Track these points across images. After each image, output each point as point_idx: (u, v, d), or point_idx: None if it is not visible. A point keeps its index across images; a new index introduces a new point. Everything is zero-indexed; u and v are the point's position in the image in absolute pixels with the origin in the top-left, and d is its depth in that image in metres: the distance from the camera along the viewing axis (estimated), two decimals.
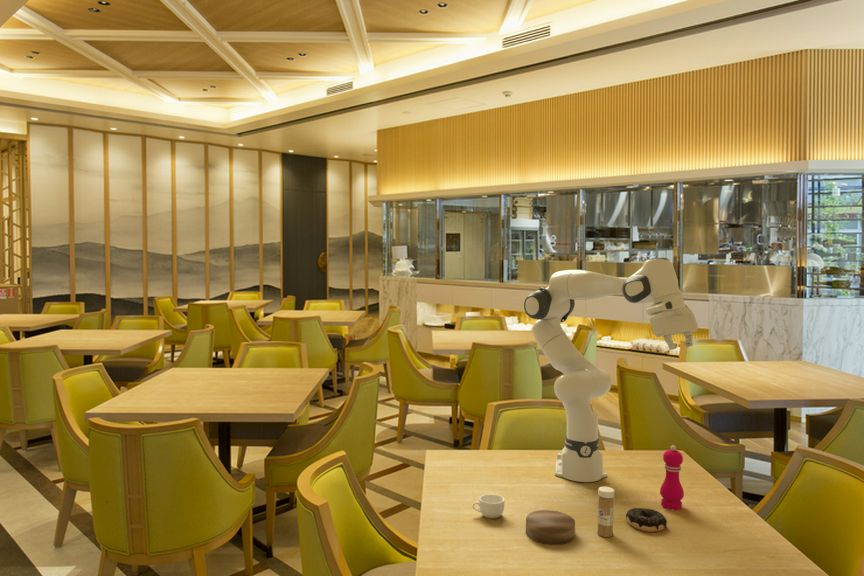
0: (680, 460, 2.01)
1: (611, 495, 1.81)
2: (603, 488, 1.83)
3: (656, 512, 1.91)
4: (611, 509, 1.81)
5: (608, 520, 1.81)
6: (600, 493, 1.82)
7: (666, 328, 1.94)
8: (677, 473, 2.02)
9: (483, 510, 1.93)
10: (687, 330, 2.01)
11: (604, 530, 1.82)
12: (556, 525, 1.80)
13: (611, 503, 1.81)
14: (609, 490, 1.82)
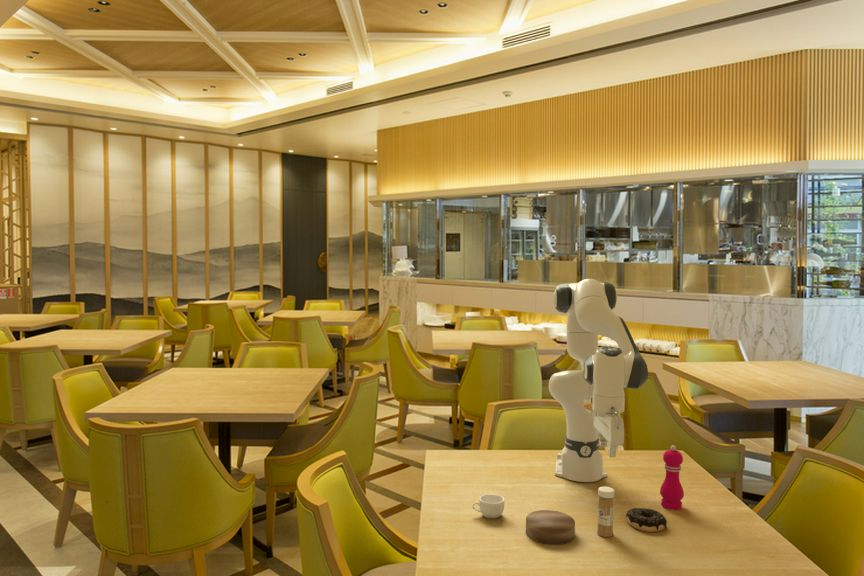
0: (680, 460, 2.01)
1: (611, 495, 1.81)
2: (603, 488, 1.83)
3: (656, 512, 1.91)
4: (611, 509, 1.81)
5: (608, 520, 1.81)
6: (600, 493, 1.82)
7: (594, 421, 1.90)
8: (677, 473, 2.02)
9: (483, 510, 1.93)
10: (604, 437, 1.79)
11: (604, 530, 1.82)
12: (556, 525, 1.80)
13: (611, 503, 1.81)
14: (609, 490, 1.82)
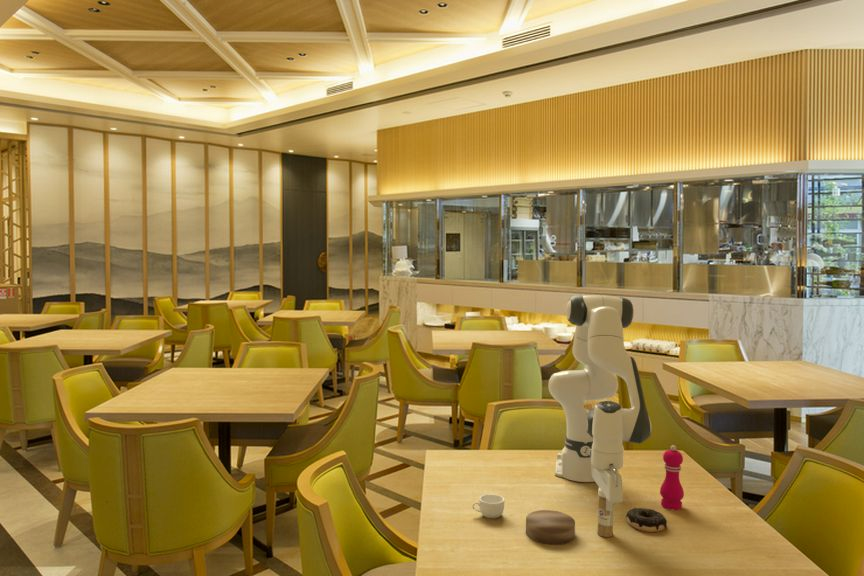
0: (680, 460, 2.01)
1: None
2: None
3: (656, 512, 1.91)
4: None
5: (608, 520, 1.81)
6: (600, 493, 1.82)
7: (592, 473, 1.91)
8: (677, 473, 2.02)
9: (483, 510, 1.93)
10: (603, 492, 1.80)
11: (604, 530, 1.82)
12: (556, 525, 1.80)
13: None
14: None
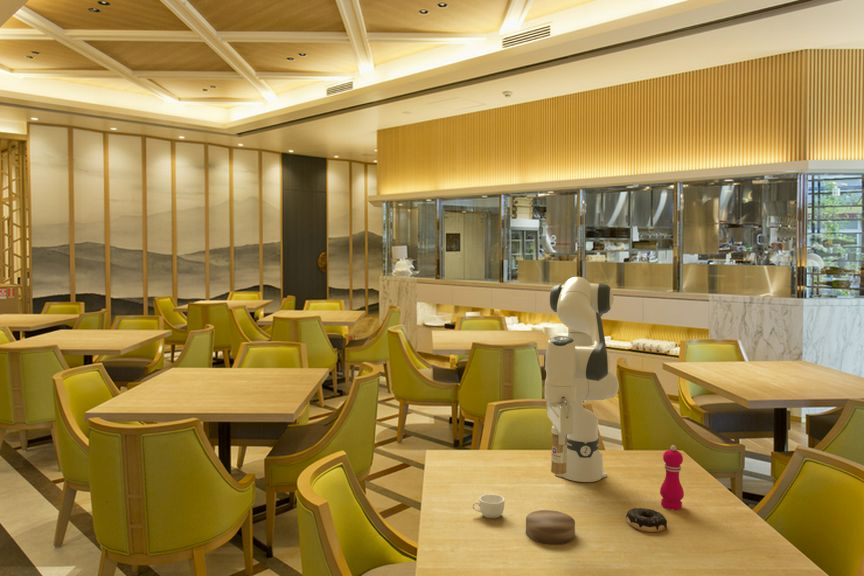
0: (680, 460, 2.01)
1: None
2: None
3: (656, 512, 1.91)
4: (564, 447, 1.80)
5: (561, 458, 1.80)
6: (553, 430, 1.81)
7: (547, 411, 1.90)
8: (677, 473, 2.02)
9: (483, 510, 1.93)
10: (555, 426, 1.79)
11: (557, 468, 1.81)
12: (556, 525, 1.80)
13: None
14: None
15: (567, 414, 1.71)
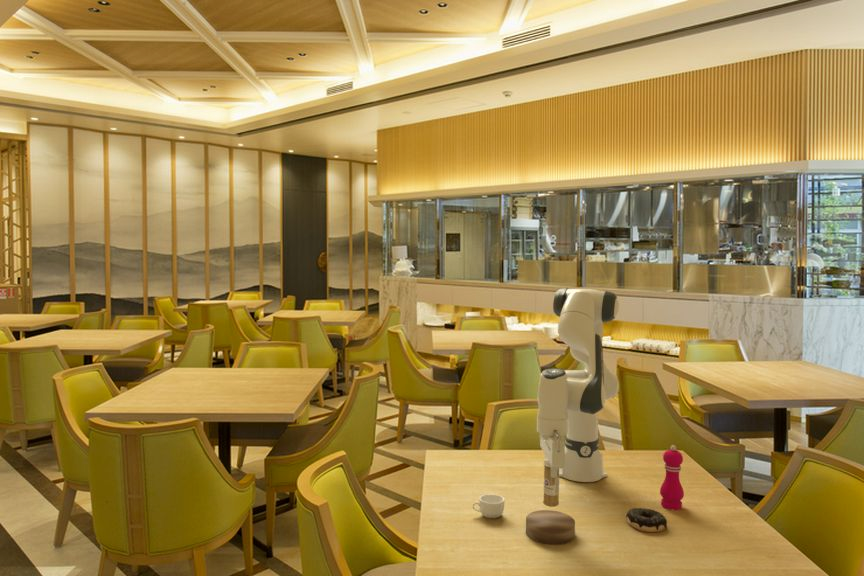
0: (680, 460, 2.01)
1: None
2: None
3: (656, 512, 1.91)
4: (556, 479, 1.81)
5: (553, 490, 1.81)
6: (545, 463, 1.81)
7: (540, 442, 1.91)
8: (677, 473, 2.02)
9: (483, 510, 1.93)
10: None
11: (549, 500, 1.81)
12: (556, 525, 1.80)
13: None
14: None
15: (558, 448, 1.72)
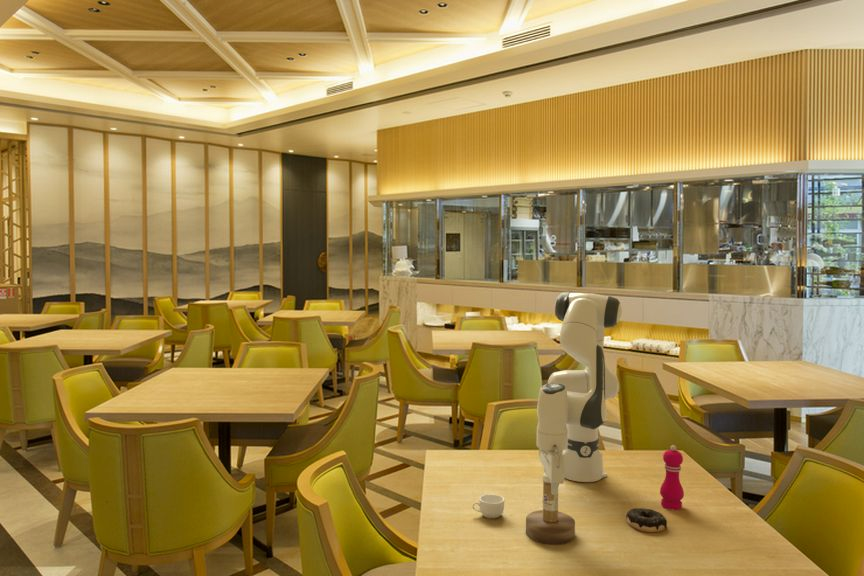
0: (680, 460, 2.01)
1: None
2: None
3: (656, 512, 1.91)
4: (555, 495, 1.81)
5: (552, 505, 1.81)
6: (544, 478, 1.82)
7: (540, 455, 1.91)
8: (677, 473, 2.02)
9: (483, 510, 1.93)
10: (547, 474, 1.80)
11: (548, 516, 1.82)
12: (556, 525, 1.80)
13: None
14: None
15: (558, 464, 1.72)
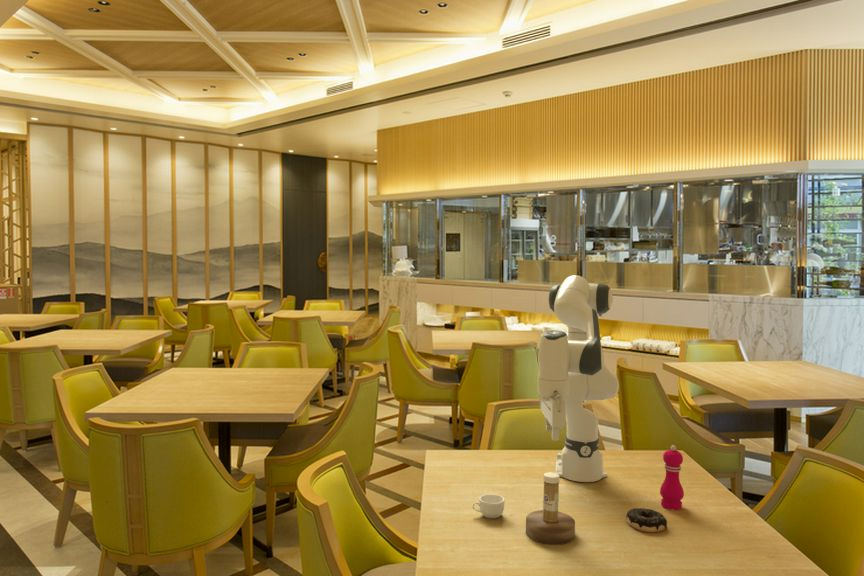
0: (680, 460, 2.01)
1: (555, 480, 1.81)
2: (548, 474, 1.83)
3: (656, 512, 1.90)
4: (556, 495, 1.81)
5: (552, 506, 1.81)
6: (545, 478, 1.82)
7: (541, 405, 1.90)
8: (677, 473, 2.02)
9: (483, 510, 1.93)
10: (548, 420, 1.79)
11: (548, 516, 1.82)
12: (556, 525, 1.80)
13: (555, 489, 1.81)
14: (554, 476, 1.82)
15: (559, 408, 1.71)
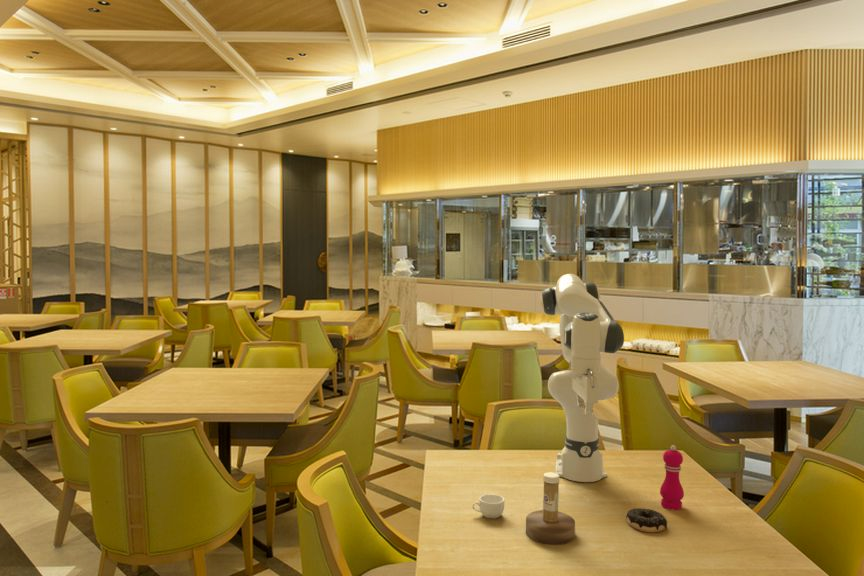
0: (680, 460, 2.01)
1: (555, 480, 1.81)
2: (548, 474, 1.83)
3: (656, 512, 1.90)
4: (556, 495, 1.81)
5: (552, 506, 1.81)
6: (545, 478, 1.82)
7: (572, 384, 2.02)
8: (677, 473, 2.02)
9: (483, 510, 1.93)
10: (581, 397, 1.90)
11: (548, 516, 1.82)
12: (556, 525, 1.80)
13: (555, 489, 1.81)
14: (554, 475, 1.82)
15: (593, 384, 1.83)
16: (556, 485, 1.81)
